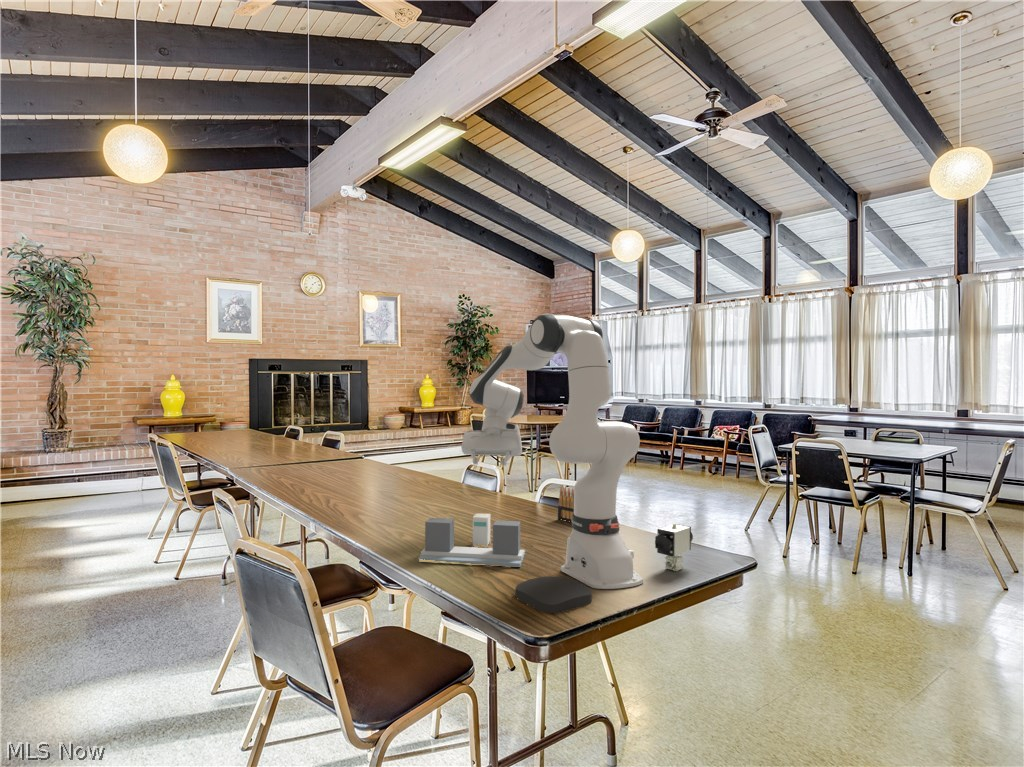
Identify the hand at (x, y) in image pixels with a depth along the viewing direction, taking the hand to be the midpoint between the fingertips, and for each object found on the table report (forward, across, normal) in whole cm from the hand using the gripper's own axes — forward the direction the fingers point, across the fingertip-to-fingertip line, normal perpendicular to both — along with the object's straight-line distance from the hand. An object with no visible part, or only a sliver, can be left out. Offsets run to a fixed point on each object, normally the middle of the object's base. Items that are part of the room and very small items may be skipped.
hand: (489, 463), depth 180 cm
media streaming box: (+52, +24, -20) cm, 61 cm away
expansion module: (+25, 0, +7) cm, 26 cm away
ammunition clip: (+2, +26, +31) cm, 40 cm away
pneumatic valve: (+34, +54, -2) cm, 64 cm away
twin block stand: (+34, 0, -2) cm, 34 cm away
